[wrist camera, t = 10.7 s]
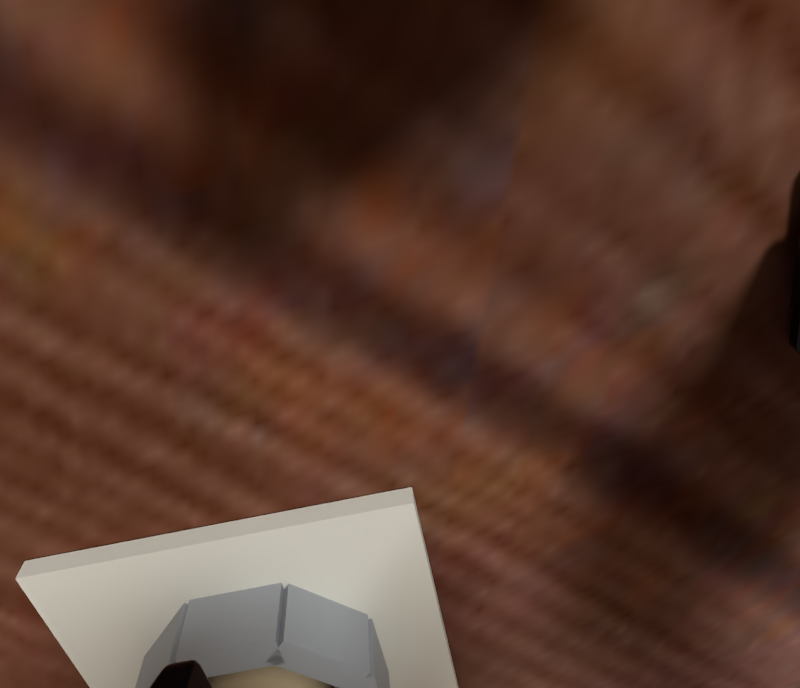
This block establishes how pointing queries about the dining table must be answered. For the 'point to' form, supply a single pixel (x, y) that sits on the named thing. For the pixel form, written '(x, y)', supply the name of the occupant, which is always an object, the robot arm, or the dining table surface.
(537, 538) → the dining table surface
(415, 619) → the socket board
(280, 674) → the rotary grip knob
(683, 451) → the dining table surface
